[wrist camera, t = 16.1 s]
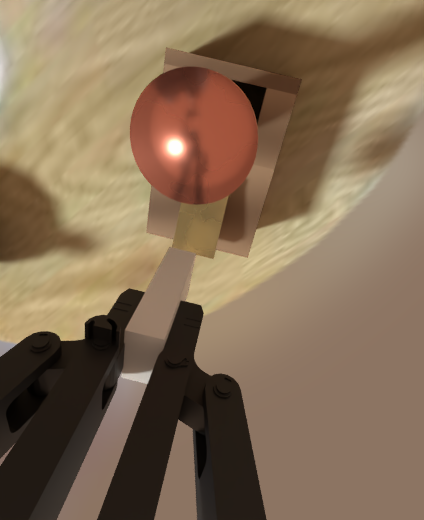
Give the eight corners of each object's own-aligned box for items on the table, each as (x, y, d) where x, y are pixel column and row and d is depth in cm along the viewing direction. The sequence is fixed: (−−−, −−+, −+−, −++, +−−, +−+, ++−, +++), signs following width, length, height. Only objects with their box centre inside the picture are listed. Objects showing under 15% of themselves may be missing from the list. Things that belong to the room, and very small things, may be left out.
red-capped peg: (206, 72, 22) (134, 51, 9) (265, 86, 22) (275, 84, 9) (196, 135, 25) (126, 189, 12) (250, 148, 25) (239, 216, 12)
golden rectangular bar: (187, 172, 21) (185, 172, 20) (233, 183, 21) (233, 184, 20) (172, 245, 23) (170, 248, 22) (215, 255, 23) (214, 259, 22)
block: (184, 55, 22) (166, 47, 18) (293, 81, 22) (301, 79, 18) (163, 210, 28) (146, 232, 24) (249, 231, 28) (247, 257, 24)
